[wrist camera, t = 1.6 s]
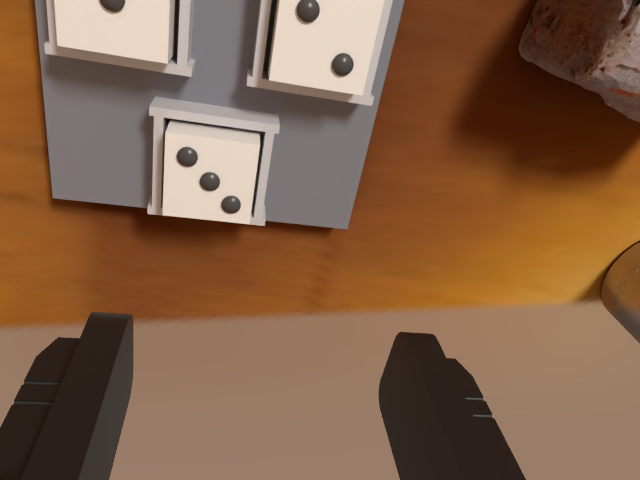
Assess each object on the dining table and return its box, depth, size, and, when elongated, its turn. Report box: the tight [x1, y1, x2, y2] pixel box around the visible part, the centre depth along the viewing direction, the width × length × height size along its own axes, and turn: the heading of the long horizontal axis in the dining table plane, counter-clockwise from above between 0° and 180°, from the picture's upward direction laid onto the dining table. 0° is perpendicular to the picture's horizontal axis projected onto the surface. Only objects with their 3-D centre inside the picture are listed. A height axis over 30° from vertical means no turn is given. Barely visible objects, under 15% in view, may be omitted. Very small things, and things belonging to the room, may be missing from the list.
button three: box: [163, 120, 260, 224], centre depth 28 cm, size 5×5×2 cm
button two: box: [268, 0, 384, 96], centre depth 25 cm, size 5×5×2 cm
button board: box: [35, 0, 404, 229], centre depth 28 cm, size 19×17×4 cm
